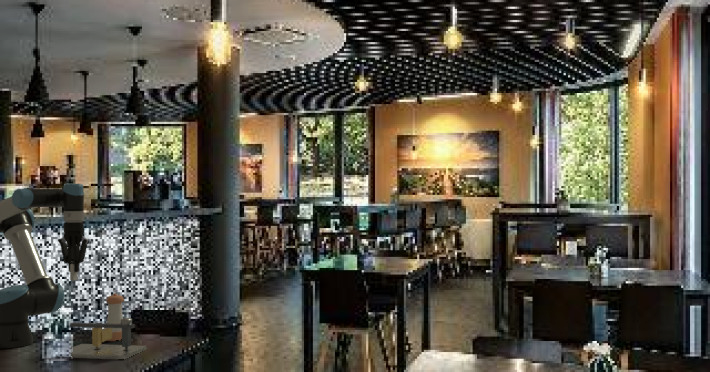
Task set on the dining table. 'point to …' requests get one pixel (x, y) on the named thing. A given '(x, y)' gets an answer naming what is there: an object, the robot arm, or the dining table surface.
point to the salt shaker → (115, 315)
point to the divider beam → (125, 325)
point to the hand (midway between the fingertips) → (73, 280)
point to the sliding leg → (100, 335)
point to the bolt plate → (105, 351)
